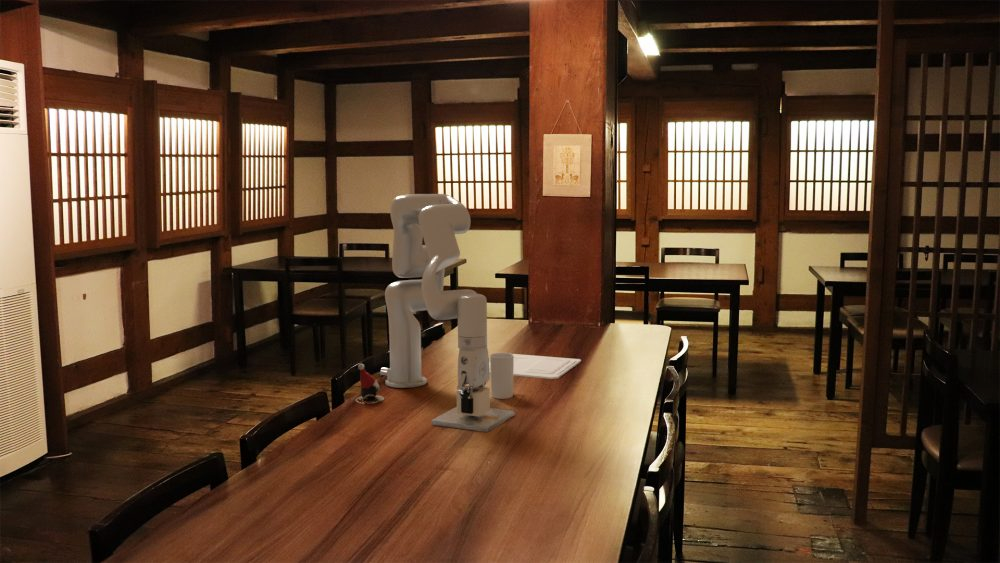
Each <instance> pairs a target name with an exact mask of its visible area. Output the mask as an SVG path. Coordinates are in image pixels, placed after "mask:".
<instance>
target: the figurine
mask: <svg viewBox="0 0 1000 563" xmlns="http://www.w3.org/2000/svg"><path fill="white" fill-rule="evenodd" d="M357 367H358V368H357V369H358V370H360V373H359V382H360V387H361V388H360V392H361V396H358V397H356V398H355V399H354V401H355V402H356V403H358V404H362V405H363V404H365V403H364V402H362V403H361V402H359V401H358V399H359V400H361V399H362V401H366V402H367V404H369V405H370V404H376V403H379V402H380V403H381V402H383V401H384V400H385V397H384V396H381V395H377V394H378V393H379V392H380V389H381V388H380V385H379V382H378V380H377V378H376V376H373V375H371V374H370V373H369V372H367V371H366V369H365V364H363V363H359V364H358V366H357ZM366 397H368V398H366ZM370 398H371V399H370ZM373 398H374V399H373Z"/></svg>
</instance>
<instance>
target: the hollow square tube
mask: <svg viewBox="0 0 1000 563" xmlns="http://www.w3.org/2000/svg"><path fill="white" fill-rule="evenodd" d="M477 389H479V391H478V392H472V397H471V398H473V413H472V414H468V413H462V412H461V398H460V394H459V391H458V390H456V406H457V414H462V415H470V416H478V417H479V416H481V415H483V414H484V413H486V412H488V411H489V410H490V408H491V405H490V404H491V402H490V401H491V400H490V399H491V397H490V395H491V391H490V390H491V387H486V386H485V387H477ZM465 390H467V392H469V389H465Z"/></svg>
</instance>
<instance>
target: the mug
mask: <svg viewBox="0 0 1000 563" xmlns="http://www.w3.org/2000/svg"><path fill="white" fill-rule="evenodd" d="M513 354H514V353H510V352H495V353H491V354H490V355H489V362H490V371H491V374H490V390H491V391H490V395H491V397H492V398H494V399H497V400H500V399H502V400H505V399H510V398H513V396H514V376H513V366H514V355H513Z"/></svg>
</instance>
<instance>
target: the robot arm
mask: <svg viewBox="0 0 1000 563" xmlns="http://www.w3.org/2000/svg"><path fill="white" fill-rule="evenodd" d="M389 211H390V219H391V223H392V227H393V241H392V243H393V244H392V259H391V261H392V262H391V263H392V264H391V265H392V266H391V267H392V268H391V269H392V272H393V274H394V275H395V276H396V277H398V278H403V279H404V278H405V279H406V278H407V279H408V280H397V281H394V282H391V283H390V284H388V285H387V287H386V288H385V292H384V299H385V303H386V310H387V316H388V334H389V336H388V338H389V339H388V340H389V368H388V367H381V368H380V370H379V371H380V372H379V374H380V375H382V376H386V379H385V382H384V384H385V385H386V386H388V387H390V388H396V389H410V388H418V387H421V386H424V385H426V384H427V383H428V380H427V379H428V378H427V377H426V376H422V337H421V336H422V335H421V331H422V330H421V325H420V322H419V320H418V319H417V318H416V317H415V315H414V314H413V313H414V312H415V313H416V312H420V311H421V312H423V311H427V313H428V315H429V316H430V317H431V318H432V319H434V320H436V321H444V320H445V321H447V320H454V319H455V320H456V319H457V348H458V349H459V350H458V358H457V383H458V384H457V386H456V390H457V391H459V394H460V398H461V412H462V413H468V414H472V413H473V398H471V397H472V391H473V388H477V387H486V385H487V383H488V382H490V380H491V374H490V369H489V362H490V355H489V351H488V324H487V323H488V302H487V301H488V300H487V296H485V295H484V294H480V293H477V292H476V291H475V290H473V289H468V288H467V289H453V290H451V289H450V290H444V283H445V281H444V279H445V272H446V270H445V269H446V268H447V267H448V266H450V265H452V264H453V263H455V262H456V261H457V260H458V259H459V258H460V256H461V250H460V248H459V244H458V241H457V237H456V235H461V234H466V233H467V232H468V231H469V230H470V228H471V222H472V221H471V215H470V213H469V211H468V209H467V208H466V206H465V205H464V204H463V203H462V202H460V201H459V200H457V199H456V198H454V197H453V196H451V195H449V194H444V193H413V194H409V193H408V194H402V195H397V196H396V197H394V198H393V200H392V202H391V204H390V210H389ZM423 241H424V244H423ZM410 278H421V279H410ZM465 389H469V392H467V390H465Z"/></svg>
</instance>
